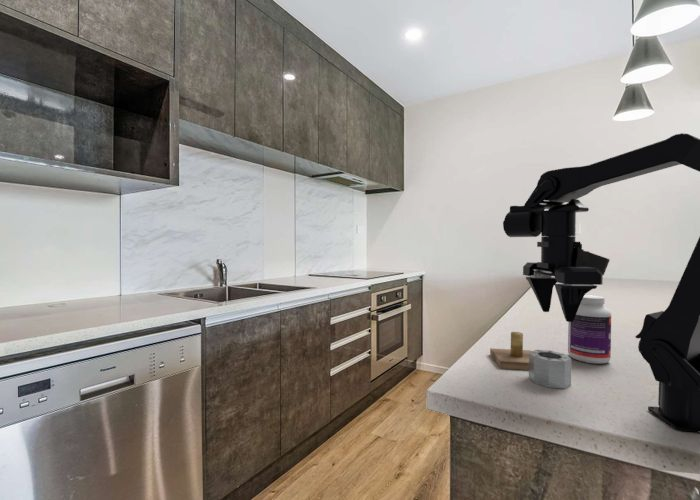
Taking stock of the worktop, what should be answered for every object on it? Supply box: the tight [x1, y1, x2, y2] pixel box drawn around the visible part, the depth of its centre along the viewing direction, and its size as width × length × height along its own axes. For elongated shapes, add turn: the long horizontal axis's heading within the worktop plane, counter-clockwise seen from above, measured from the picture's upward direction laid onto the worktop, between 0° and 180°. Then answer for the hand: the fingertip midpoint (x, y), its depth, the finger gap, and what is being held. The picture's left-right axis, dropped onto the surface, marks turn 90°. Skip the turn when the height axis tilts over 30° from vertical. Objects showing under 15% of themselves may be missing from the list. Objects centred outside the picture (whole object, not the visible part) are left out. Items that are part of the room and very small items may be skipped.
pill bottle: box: [567, 294, 612, 365], centre depth 80 cm, size 8×8×14 cm
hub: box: [528, 349, 572, 390], centre depth 67 cm, size 6×6×5 cm
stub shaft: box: [489, 331, 532, 371], centre depth 78 cm, size 9×9×6 cm
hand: (557, 316), depth 69 cm, fingers open, 9 cm apart
